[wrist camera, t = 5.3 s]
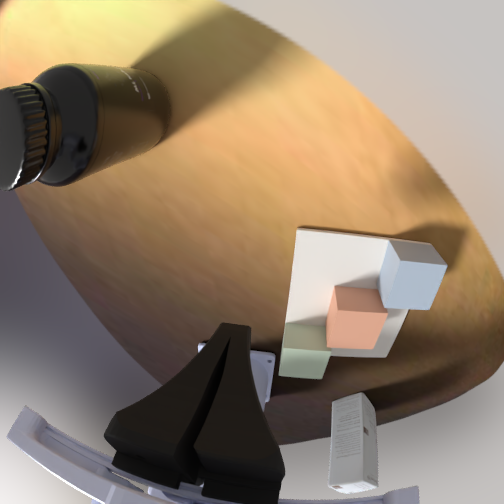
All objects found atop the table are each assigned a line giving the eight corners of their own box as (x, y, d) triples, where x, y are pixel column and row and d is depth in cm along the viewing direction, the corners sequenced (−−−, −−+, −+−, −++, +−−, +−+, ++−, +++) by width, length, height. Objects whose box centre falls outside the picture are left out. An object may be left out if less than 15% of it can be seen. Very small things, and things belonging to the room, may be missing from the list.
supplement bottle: (180, 69, 16) (50, 50, 5) (167, 160, 19) (49, 228, 9) (103, 71, 16) (-26, 80, 6) (96, 151, 20) (-22, 204, 9)
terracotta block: (367, 324, 23) (372, 349, 21) (325, 322, 24) (326, 347, 21) (380, 289, 21) (388, 313, 19) (334, 285, 22) (337, 310, 19)
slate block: (417, 287, 21) (428, 309, 18) (376, 284, 21) (384, 307, 19) (432, 245, 19) (447, 265, 16) (388, 239, 19) (400, 260, 17)
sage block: (321, 355, 26) (321, 379, 23) (281, 351, 26) (278, 375, 24) (329, 326, 24) (331, 351, 21) (285, 322, 24) (283, 347, 22)
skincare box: (376, 408, 31) (382, 487, 20) (346, 417, 32) (346, 494, 22) (361, 389, 29) (367, 481, 18) (328, 400, 31) (326, 488, 20)
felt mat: (385, 354, 25) (385, 357, 25) (281, 348, 27) (281, 351, 26) (430, 243, 19) (432, 245, 19) (297, 227, 20) (297, 229, 20)
